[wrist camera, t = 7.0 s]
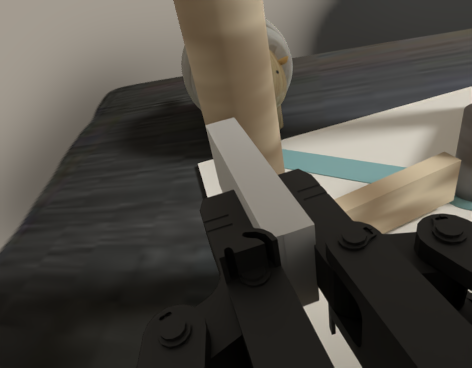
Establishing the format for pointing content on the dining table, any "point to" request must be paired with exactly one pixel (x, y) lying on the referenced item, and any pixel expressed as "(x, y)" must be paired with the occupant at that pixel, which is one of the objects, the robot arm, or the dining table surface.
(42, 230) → the dining table surface
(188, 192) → the dining table surface
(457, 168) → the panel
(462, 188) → the wooden post with ball
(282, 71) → the toy sheep
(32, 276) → the dining table surface
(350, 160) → the card
